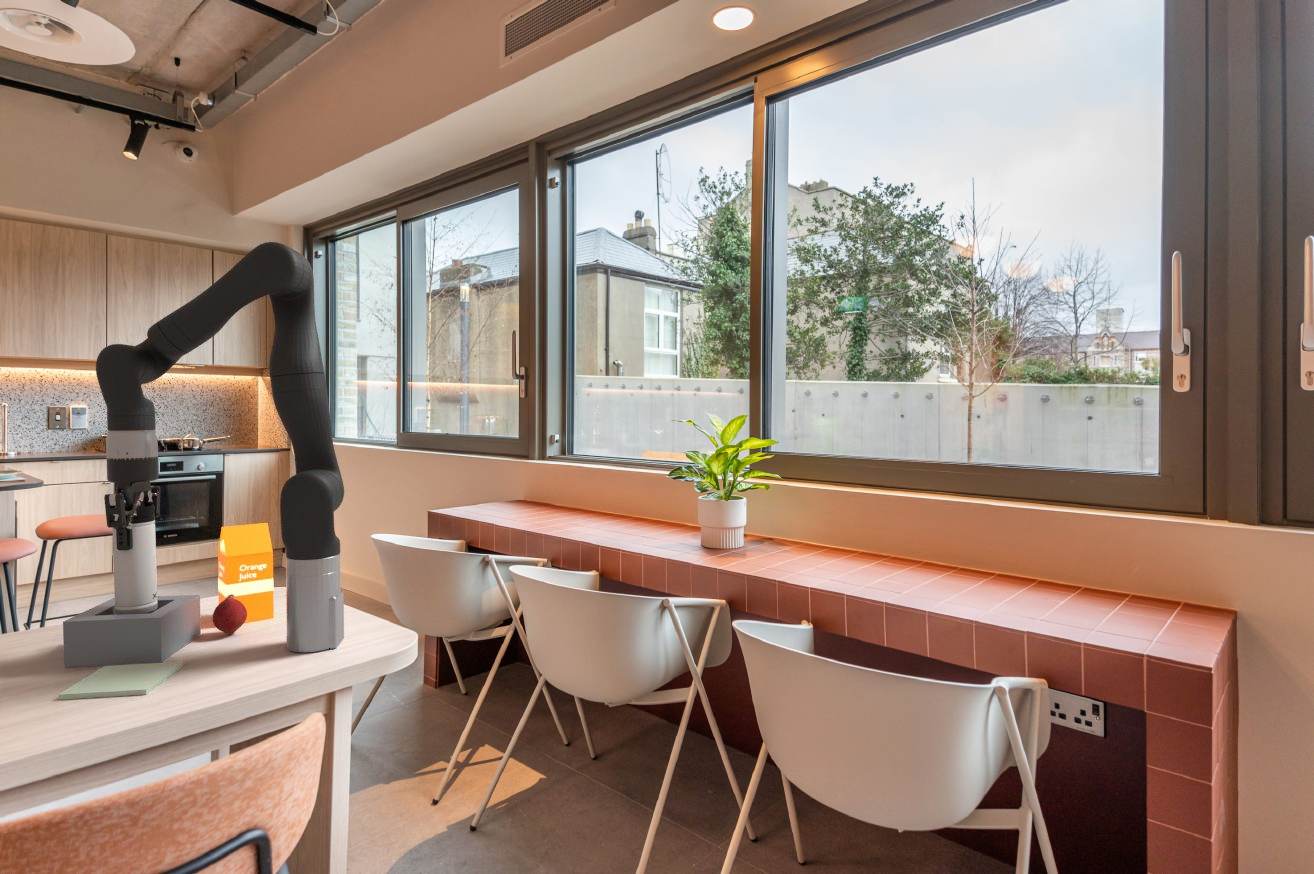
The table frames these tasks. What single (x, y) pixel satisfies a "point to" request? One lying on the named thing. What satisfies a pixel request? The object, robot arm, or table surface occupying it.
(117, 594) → the travel mug
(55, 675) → the table surface
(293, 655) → the table surface
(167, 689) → the table surface
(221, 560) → the orange juice
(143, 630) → the holder
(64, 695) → the mat
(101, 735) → the table surface
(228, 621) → the onion
